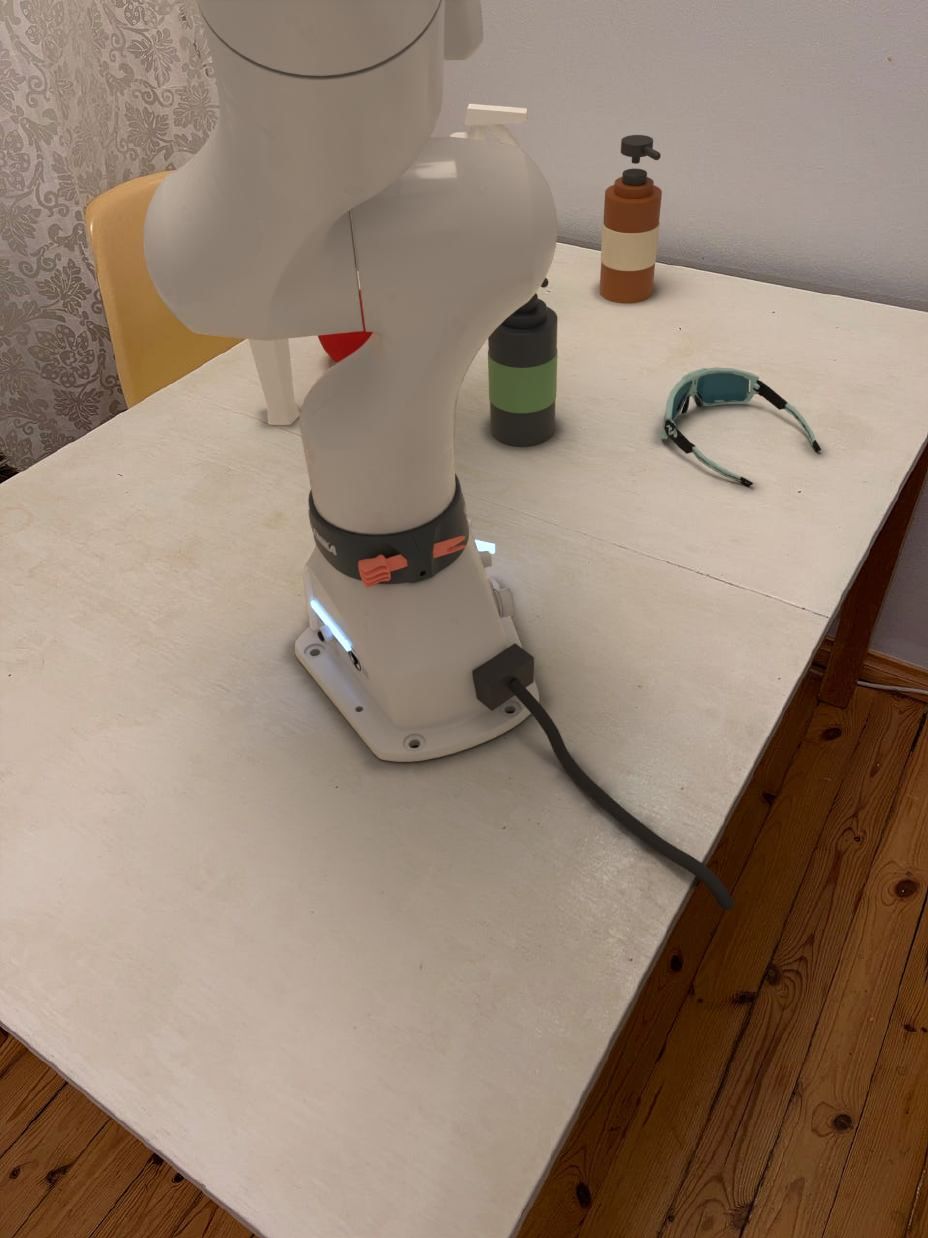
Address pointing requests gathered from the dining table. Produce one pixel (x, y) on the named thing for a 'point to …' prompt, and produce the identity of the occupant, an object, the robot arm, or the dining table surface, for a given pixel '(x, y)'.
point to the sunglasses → (719, 390)
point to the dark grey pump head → (638, 147)
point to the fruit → (344, 342)
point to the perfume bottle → (276, 379)
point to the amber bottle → (630, 237)
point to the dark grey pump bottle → (524, 375)
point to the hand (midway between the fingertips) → (377, 114)
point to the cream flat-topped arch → (492, 122)
